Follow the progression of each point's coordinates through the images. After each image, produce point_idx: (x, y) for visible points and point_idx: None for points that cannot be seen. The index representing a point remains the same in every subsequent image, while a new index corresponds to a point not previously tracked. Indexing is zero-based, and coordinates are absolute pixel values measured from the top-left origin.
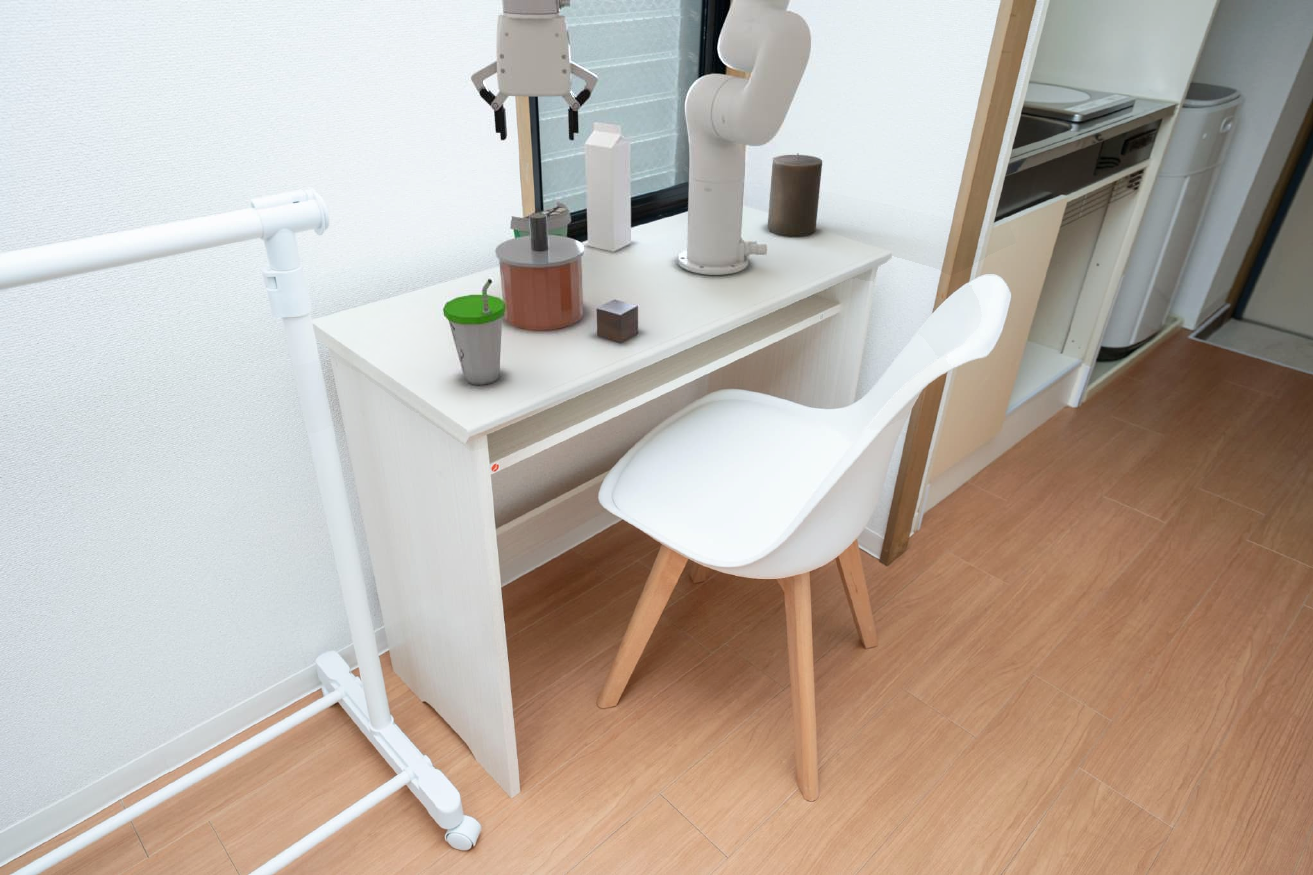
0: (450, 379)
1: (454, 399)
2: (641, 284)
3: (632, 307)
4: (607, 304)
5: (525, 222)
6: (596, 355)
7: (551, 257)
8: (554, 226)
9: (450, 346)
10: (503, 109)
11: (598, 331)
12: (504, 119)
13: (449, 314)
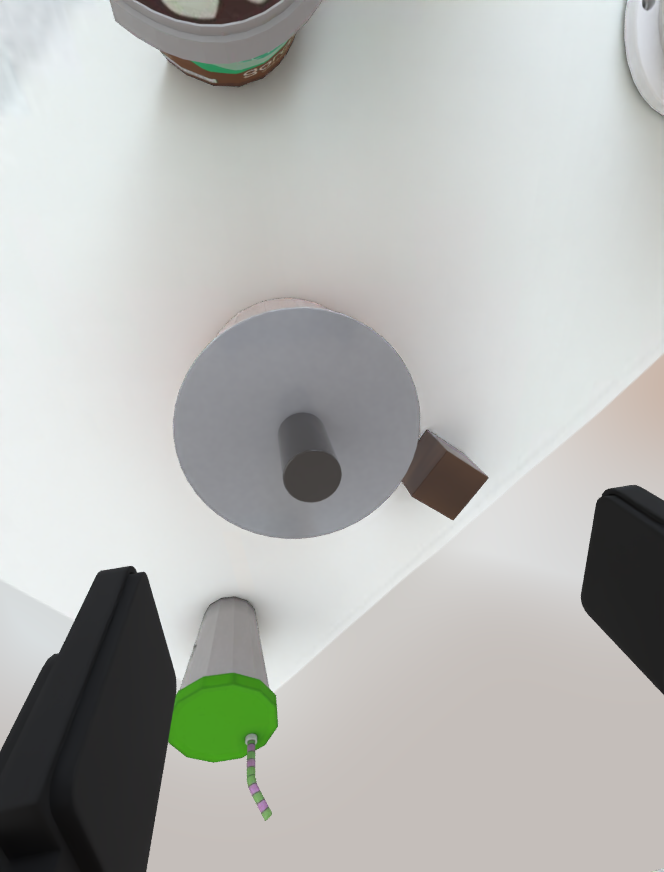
0: (183, 625)
1: None
2: (502, 185)
3: (477, 486)
4: (433, 477)
5: (182, 39)
6: (393, 535)
7: (340, 495)
8: (295, 24)
9: (141, 530)
10: (83, 866)
11: None
12: (147, 829)
13: (189, 757)
